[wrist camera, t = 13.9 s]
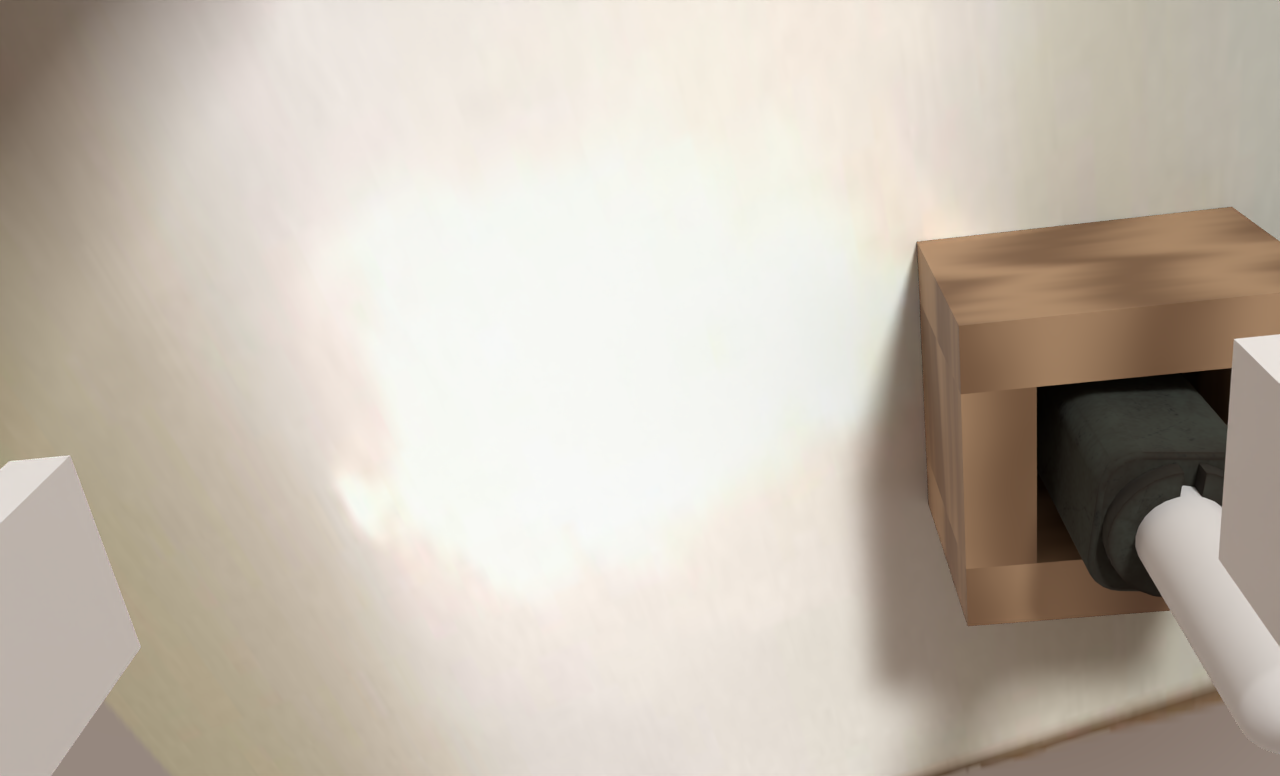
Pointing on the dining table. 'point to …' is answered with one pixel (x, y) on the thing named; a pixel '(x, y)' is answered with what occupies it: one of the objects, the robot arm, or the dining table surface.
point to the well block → (1066, 377)
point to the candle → (1160, 521)
